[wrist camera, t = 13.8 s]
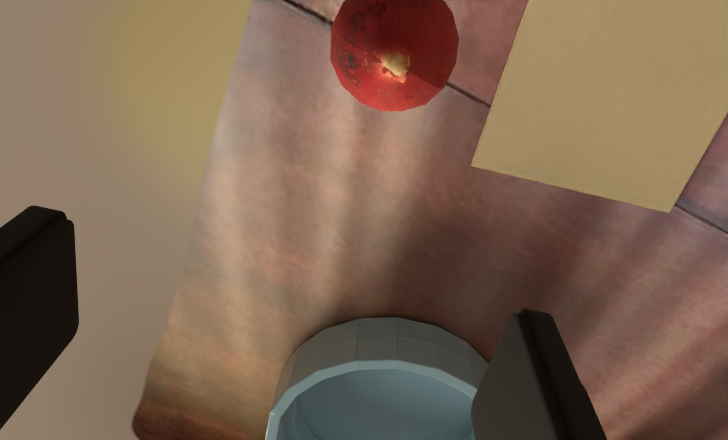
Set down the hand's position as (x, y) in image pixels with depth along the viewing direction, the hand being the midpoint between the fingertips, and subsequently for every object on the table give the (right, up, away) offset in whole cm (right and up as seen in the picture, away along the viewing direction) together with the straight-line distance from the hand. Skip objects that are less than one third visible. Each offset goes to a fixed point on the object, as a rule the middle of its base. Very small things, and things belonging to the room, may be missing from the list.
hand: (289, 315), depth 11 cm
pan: (+3, -12, +29) cm, 31 cm away
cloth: (+15, +10, +16) cm, 24 cm away
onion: (+3, +12, +16) cm, 20 cm away
